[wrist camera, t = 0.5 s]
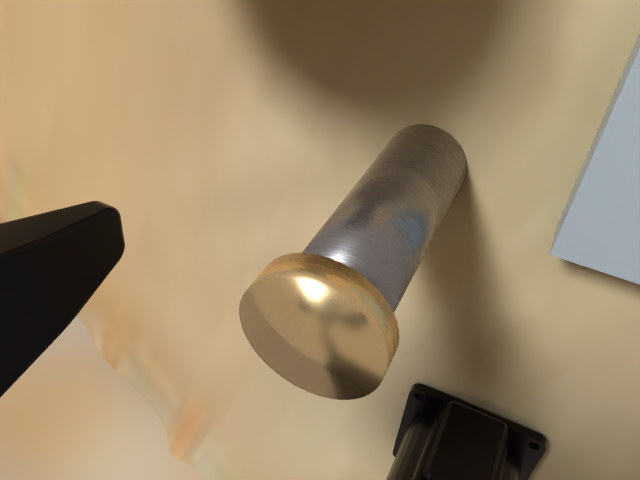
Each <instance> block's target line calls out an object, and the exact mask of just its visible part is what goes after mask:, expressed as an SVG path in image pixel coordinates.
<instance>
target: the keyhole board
mask: <svg viewBox="0 0 640 480" xmlns="http://www.w3.org/2000/svg"><path fill="white" fill-rule="evenodd" d="M550 255H551V256H554V257H557V258H560V259H563V260H566V261H570V262H573V263H576V264H579V265H582V266H585V267H588V268H591V269H594V270H597V271H600V272H603V273H606V274H609V275H612V276H615V277H618V278H621V279H624V280H627V281H630V282H633V283H636V284H640V35H639V37H638V40H637V42H636V44H635V47H634V49H633V51H632V54H631V56H630V58H629V61H628V63H627V65H626V68H625V70H624V72H623V75H622V77H621V79H620V82H619V84H618V86H617V89H616V91H615V93H614V96H613V98H612V100H611V102H610V105H609V107H608V109H607V112H606V114H605V116H604V119H603V121H602V123H601V126H600V128H599V130H598V133H597V135H596V137H595V140H594V142H593V144H592V147H591V149H590V151H589V154H588V156H587V158H586V161H585V163H584V165H583V168H582V170H581V172H580V175H579V177H578V179H577V182H576V184H575V186H574V189H573V191H572V193H571V196H570V198H569V200H568V203H567V205H566V207H565V210H564V212H563V214H562V217H561V219H560V221H559V224H558V226H557V228H556V232H555V236H554V240H553V244H552V247H551V251H550Z"/></svg>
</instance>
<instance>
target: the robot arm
mask: <svg viewBox="0 0 640 480" xmlns="http://www.w3.org/2000/svg"><path fill="white" fill-rule="evenodd" d="M124 248H125V242H124V236H123V230H122V223H121V217H120V213H119V211H118V210H117V209H116V208H114V207H112V206H109V205H107V204H105V203H102V202H99V201H91V202H87V203H83V204H79V205H75V206H71V207H67V208H63V209H58V210H54V211H50V212H46V213H42V214H38V215H34V216H30V217H26V218H22V219H18V220H13V221H9V222H5V223H1V224H0V397H1V396H2V395H3V394H4V393H5V392H6V391H7V390H8V389H9V388H10V387H11V386H12V385H13V384H14V383H15V381H17V379H18V378H19V377H20V376H21V375H22V374H23V373H24V372H25V371H26V370H27V369H28V368H29V367H30V366H31V365H32V364H33V363H34V362H35V360H36V359H37V358H38V357H39V356H40V355H41V354H42V353H43V352H44V351H45V350H46V349H47V348H48V347H49V346H50V345H51V344H52V343H53V341H54V340H55V339H56V338H57V337H58V336H59V335H60V334H61V333H62V332H63V331H64V330H65V328H66V327H67V326H68V325H69V324H70V323H71V322H72V320H73V319H74V318H75V317H76V315H77V314H78V313H79V312H80V310H81V309H82V308H83V307H84V305H85V304H86V303H87V301H88V300H89V299H90V297H91V296H92V295H93V294H94V292H95V291H96V290H97V288H98V287H99V286H100V285H101V283H102V282H103V281H104V279H105V278H106V277H107V275H108V274H109V273H110V272H111V270H112V269H113V268H114V266H115V265H116V264H117V263H118V261H119V260H120V258H121V257H122V255H123V252H124ZM546 444H547V440H546V438H545V437H544V436H543V435H541V434H540V433H537V432H535V431H533V430H530V429H528V428H525V427H523V426H521V425H518V424H516V423H514V422H511V421H509V420H506V419H504V418H502V417H499V416H497V415H495V414H492V413H490V412H487V411H485V410H483V409H480V408H478V407H475V406H473V405H471V404H468V403H466V402H464V401H461V400H459V399H456V398H454V397H452V396H449V395H447V394H445V393H442V392H440V391H437V390H435V389H433V388H430V387H428V386H426V385H423V384H414V385H413V386H412V388H411V391H410V393H409V396H408V400H407V403H406V407H405V411H404V414H403V418H402V421H401V425H400V428H399V432H398V435H397V439H396V442H395V446H394V449H393V455H394V457H396V458H395V460H394V463H393V465H392V467H391V470H390V472H389V475H388V477H387V480H528V478H529V477H530V475H531V473H532V472H533V470H534V468H535V467H536V465H537V464H538V462H539V460H540V459H541V457H542V455H543V454H544V452H545V450H546Z"/></svg>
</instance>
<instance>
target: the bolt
mask: <svg viewBox="0 0 640 480" xmlns="http://www.w3.org/2000/svg"><path fill="white" fill-rule="evenodd" d="M466 171H467V163H466V157H465V154H464V152H463V150H462V148H461V146H460V145H459V143H458V142H457V141H456V140H455V139H454V138H453V137H452V136H451V135H450V134H449V133H447V132H445V131H444V130H442V129H440V128H437V127H434V126H430V125H413V126H409V127H406V128H404V129H402V130H401V131H399V132H398V133H397V134H396V135H395V136H394V137H393V138H392V140H391V141H390V142H389V143H388V145H387V146H386V147H385V148H384V150H383V151H382V152H381V153H380V155H379V156H378V157H377V159H376V160H375V161H374V162H373V164H372V165H371V166H370V167H369V169H368V170H367V171H366V172H365V174H364V175H363V176H362V178H361V179H360V180H359V181H358V183H357V184H356V185H355V186H354V188H353V189H352V190H351V191H350V193H349V194H348V195H347V197H346V198H345V199H344V200H343V202H342V203H341V204H340V205H339V207H338V208H337V209H336V210H335V212H334V213H333V214H332V216H331V217H330V218H329V219H328V221H327V222H326V223H325V224H324V226H323V227H322V228H321V230H320V231H319V232H318V233H317V235H316V236H315V237H314V238H313V240H312V241H311V242H310V243H309V245H308V246H307V247H306V249H305V250H304V251H303V252H302V253H293V254H287V255H284V256H281V257H279V258H277V259H275V260H273V261H272V262H271V263H270V264H269V265H268V266H267V267H266V268H265V269H264V270H263V272H262V273H261V274H260V275H259V276H258V277H257V279H256V280H255V281H254V282H253V283H252V285H251V286H250V287H249V288H248V289H247V291H246V292H245V293H244V295H243V297H242V299H241V303H240V309H239V314H240V321H241V325H242V328H243V331H244V333H245V336H246V337H247V339H248V341H249V343H250V344H251V346H252V347H253V349H254V350H255V352H256V353H257V354H258V355H259V357H260V358H261V359H262V360H263V361H264V362H265V363H266V364H267V365H268V366H269V367H270V368H271V369H272V370H274V371H275V372H276V373H277V374H279V375H280V376H281V377H283V378H284V379H286V380H287V381H289V382H290V383H292V384H294V385H296V386H297V387H299V388H301V389H303V390H306V391H308V392H310V393H313V394H316V395H319V396H322V397H327V398H331V399H339V400H350V399H357V398H361V397H364V396H366V395H369V394H370V393H372V392H373V391H374V390H375V389H376V388H377V387H378V386H379V385H380V383H381V381H382V380H383V378H384V375H385V373H386V371H387V369H388V367H389V365H390V363H391V361H392V359H393V357H394V355H395V353H396V351H397V348H398V344H399V328H398V323H397V320H396V317H395V315H394V312H395V310H396V308H397V306H398V304H399V302H400V300H401V298H402V296H403V294H404V293H405V291H406V289H407V287H408V285H409V283H410V281H411V279H412V277H413V275H414V274H415V272H416V270H417V268H418V266H419V264H420V262H421V260H422V258H423V256H424V255H425V253H426V251H427V249H428V247H429V245H430V243H431V241H432V239H433V237H434V236H435V234H436V232H437V230H438V228H439V226H440V224H441V222H442V220H443V218H444V217H445V215H446V213H447V211H448V209H449V207H450V205H451V203H452V201H453V199H454V198H455V196H456V194H457V192H458V190H459V188H460V186H461V184H462V182H463V180H464V178H465V175H466Z"/></svg>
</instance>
